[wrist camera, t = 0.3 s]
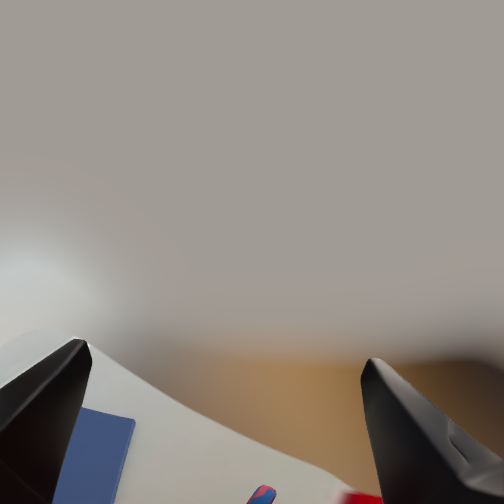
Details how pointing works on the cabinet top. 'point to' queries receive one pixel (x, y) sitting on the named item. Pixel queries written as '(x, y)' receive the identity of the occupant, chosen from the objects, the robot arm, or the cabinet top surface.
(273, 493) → the cup
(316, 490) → the cabinet top surface
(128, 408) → the cabinet top surface
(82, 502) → the blue mat
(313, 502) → the cabinet top surface
